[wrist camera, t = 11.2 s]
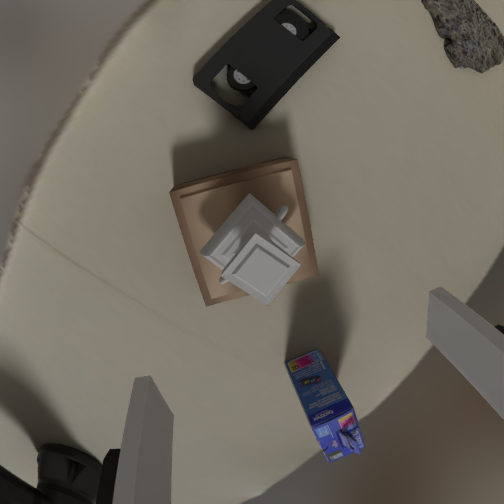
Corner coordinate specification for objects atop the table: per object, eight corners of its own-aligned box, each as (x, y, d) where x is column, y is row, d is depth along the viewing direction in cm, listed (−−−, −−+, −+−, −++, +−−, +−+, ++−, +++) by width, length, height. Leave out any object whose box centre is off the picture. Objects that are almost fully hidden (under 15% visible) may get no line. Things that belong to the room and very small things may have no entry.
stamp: (245, 291, 32) (258, 339, 24) (191, 252, 30) (187, 293, 22) (306, 223, 31) (339, 252, 23) (254, 178, 28) (272, 193, 21)
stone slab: (505, 77, 32) (519, 77, 29) (437, 68, 31) (452, 65, 28) (487, 8, 28) (499, 5, 25) (413, -13, 27) (426, -20, 24)
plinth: (205, 289, 36) (206, 307, 32) (173, 186, 32) (169, 193, 28) (307, 261, 37) (319, 275, 33) (286, 157, 32) (297, 159, 28)
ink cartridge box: (336, 389, 45) (372, 460, 31) (303, 403, 45) (331, 478, 31) (321, 345, 41) (363, 423, 28) (283, 362, 41) (312, 445, 28)
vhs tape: (279, -3, 26) (283, -10, 25) (333, 42, 29) (340, 37, 27) (191, 83, 29) (190, 80, 27) (250, 130, 31) (253, 129, 30)
